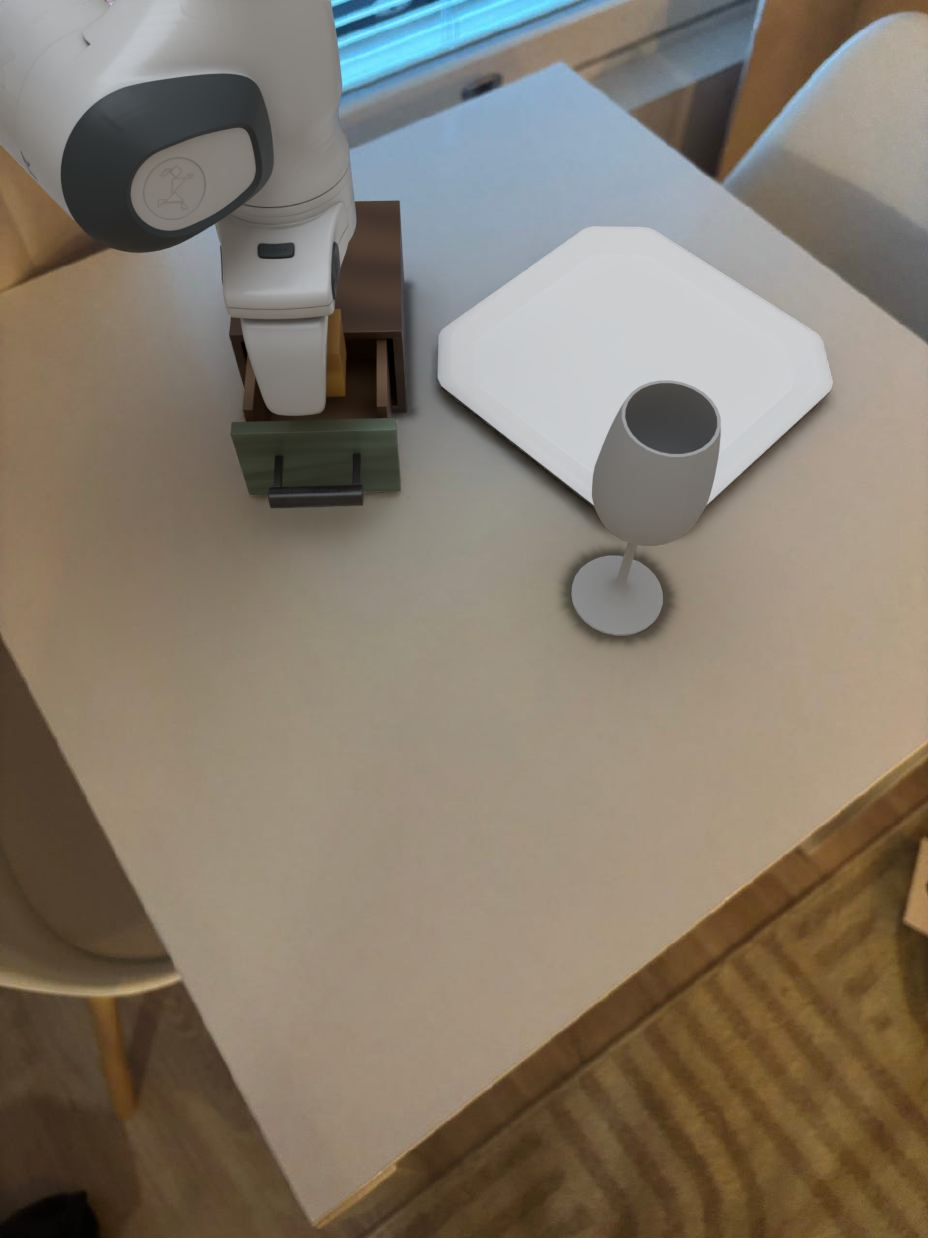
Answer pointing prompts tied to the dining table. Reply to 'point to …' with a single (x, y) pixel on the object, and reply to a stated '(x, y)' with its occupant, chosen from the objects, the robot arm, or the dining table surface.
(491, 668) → the dining table surface
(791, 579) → the dining table surface
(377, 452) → the drawer
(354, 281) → the cabinet
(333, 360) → the block
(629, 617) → the wineglass
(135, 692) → the dining table surface
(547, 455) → the plate
